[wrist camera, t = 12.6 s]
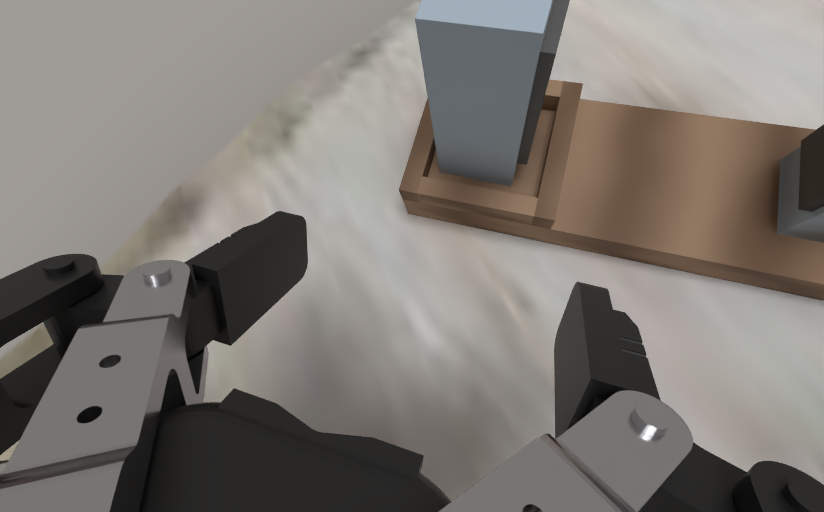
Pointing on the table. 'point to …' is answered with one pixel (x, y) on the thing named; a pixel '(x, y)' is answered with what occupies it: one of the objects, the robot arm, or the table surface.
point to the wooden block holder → (649, 190)
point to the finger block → (487, 80)
